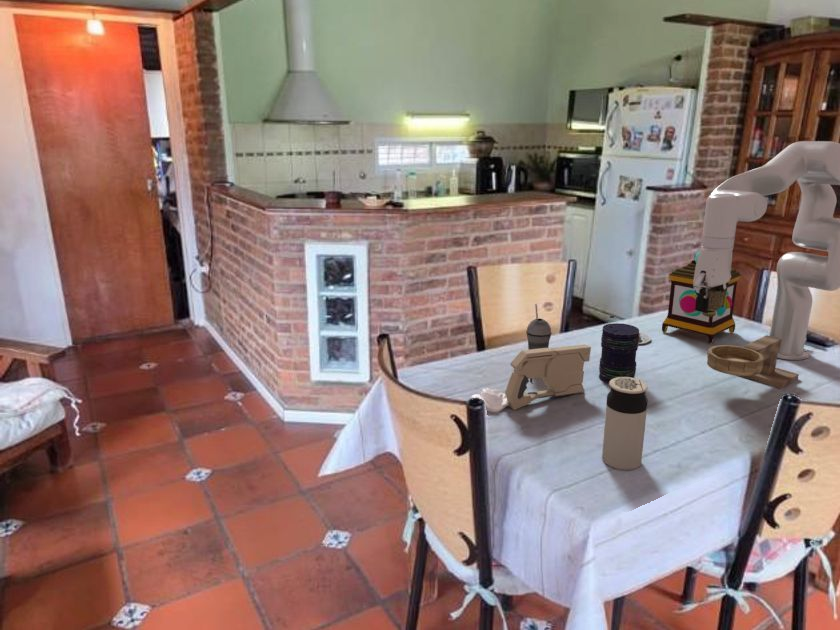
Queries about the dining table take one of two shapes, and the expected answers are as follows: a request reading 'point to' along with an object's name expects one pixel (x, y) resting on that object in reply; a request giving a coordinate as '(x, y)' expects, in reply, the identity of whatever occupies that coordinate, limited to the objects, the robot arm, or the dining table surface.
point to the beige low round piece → (645, 337)
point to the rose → (492, 399)
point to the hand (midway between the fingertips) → (709, 308)
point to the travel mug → (625, 423)
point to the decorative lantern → (685, 301)
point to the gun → (547, 373)
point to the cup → (715, 300)
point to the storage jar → (618, 351)
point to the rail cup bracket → (752, 361)
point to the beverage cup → (538, 333)
